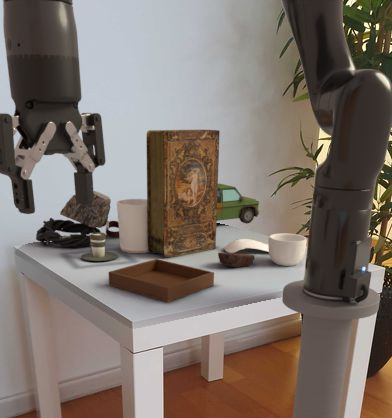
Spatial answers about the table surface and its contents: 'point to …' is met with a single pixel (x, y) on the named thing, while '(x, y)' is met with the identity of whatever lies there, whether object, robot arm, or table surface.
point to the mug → (133, 225)
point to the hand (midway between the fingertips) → (57, 208)
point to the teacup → (286, 248)
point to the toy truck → (235, 205)
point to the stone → (236, 259)
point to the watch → (111, 233)
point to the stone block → (89, 210)
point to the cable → (68, 226)
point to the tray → (161, 279)
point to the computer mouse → (245, 245)
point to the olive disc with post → (98, 249)
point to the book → (182, 190)
